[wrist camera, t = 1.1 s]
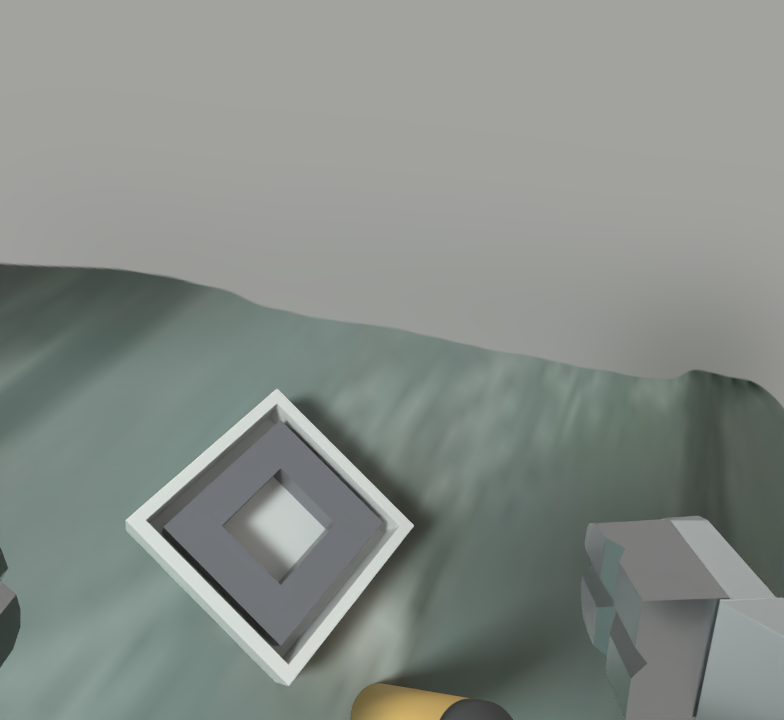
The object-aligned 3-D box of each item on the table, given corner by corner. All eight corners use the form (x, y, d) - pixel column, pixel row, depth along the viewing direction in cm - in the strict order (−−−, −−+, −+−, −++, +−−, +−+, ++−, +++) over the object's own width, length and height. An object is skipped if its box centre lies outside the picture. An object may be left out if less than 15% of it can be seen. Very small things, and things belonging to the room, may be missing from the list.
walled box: (126, 530, 39) (125, 520, 36) (266, 406, 46) (276, 388, 43) (275, 681, 39) (288, 685, 35) (393, 534, 46) (414, 525, 42)
